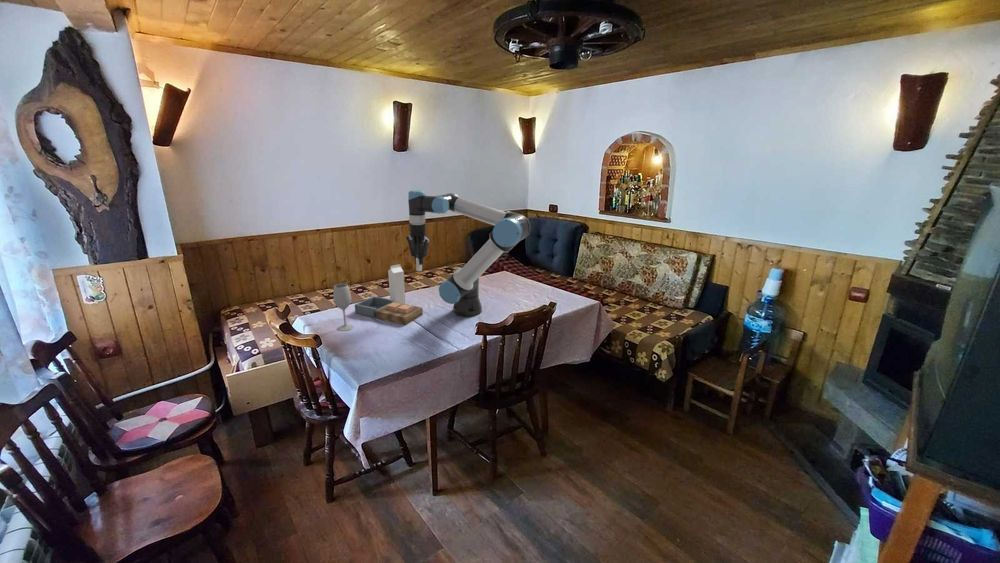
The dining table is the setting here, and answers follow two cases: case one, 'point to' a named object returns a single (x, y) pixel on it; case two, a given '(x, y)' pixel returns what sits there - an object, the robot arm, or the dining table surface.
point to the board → (399, 315)
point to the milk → (396, 284)
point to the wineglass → (342, 302)
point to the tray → (371, 306)
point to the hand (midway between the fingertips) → (419, 270)
